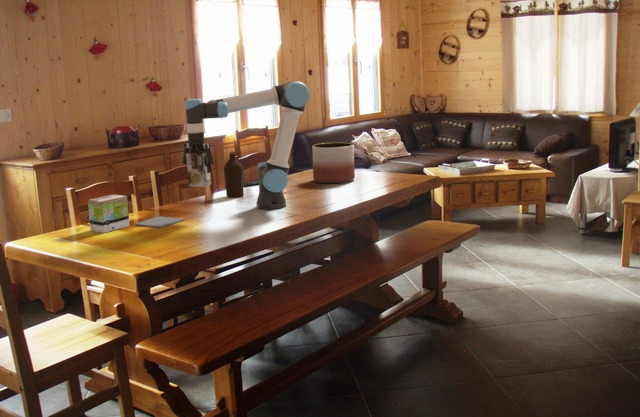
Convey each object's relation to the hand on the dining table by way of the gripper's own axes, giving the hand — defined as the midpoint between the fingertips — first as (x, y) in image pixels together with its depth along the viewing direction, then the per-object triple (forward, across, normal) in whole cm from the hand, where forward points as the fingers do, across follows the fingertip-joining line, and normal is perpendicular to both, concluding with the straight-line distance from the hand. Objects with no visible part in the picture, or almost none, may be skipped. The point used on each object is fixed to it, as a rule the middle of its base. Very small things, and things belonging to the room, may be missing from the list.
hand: (199, 179), depth 322 cm
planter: (+20, -15, -110) cm, 113 cm away
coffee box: (+3, 0, 0) cm, 3 cm away
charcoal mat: (+19, +13, +15) cm, 28 cm away
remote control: (+20, +28, -82) cm, 89 cm away
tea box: (+19, +28, +32) cm, 47 cm away
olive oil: (+20, +16, -50) cm, 56 cm away
